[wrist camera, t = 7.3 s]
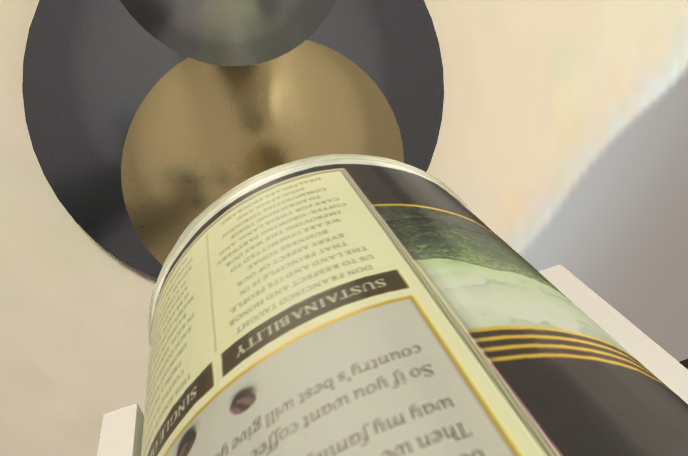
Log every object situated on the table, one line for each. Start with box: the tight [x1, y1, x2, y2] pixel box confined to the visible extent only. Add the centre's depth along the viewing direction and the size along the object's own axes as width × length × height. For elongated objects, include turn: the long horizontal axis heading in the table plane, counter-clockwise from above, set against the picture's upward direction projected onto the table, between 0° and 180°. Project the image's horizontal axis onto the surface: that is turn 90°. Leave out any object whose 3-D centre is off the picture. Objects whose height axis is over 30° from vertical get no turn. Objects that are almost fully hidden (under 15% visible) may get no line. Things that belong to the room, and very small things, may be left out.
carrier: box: [23, 0, 444, 279], centre depth 20 cm, size 18×19×12 cm
